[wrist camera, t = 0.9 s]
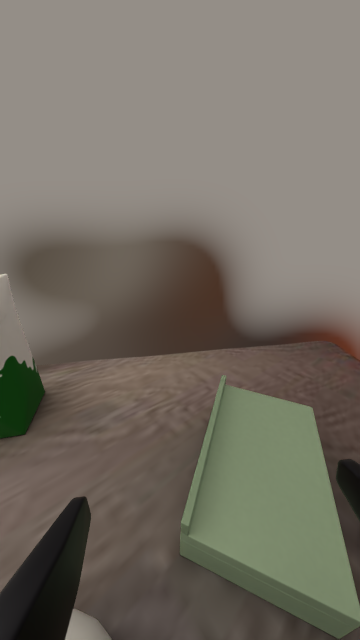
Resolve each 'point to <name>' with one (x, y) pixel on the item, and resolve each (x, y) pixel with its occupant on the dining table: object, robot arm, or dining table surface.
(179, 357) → the dining table surface
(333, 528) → the shelf
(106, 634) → the donut
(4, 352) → the milk carton
